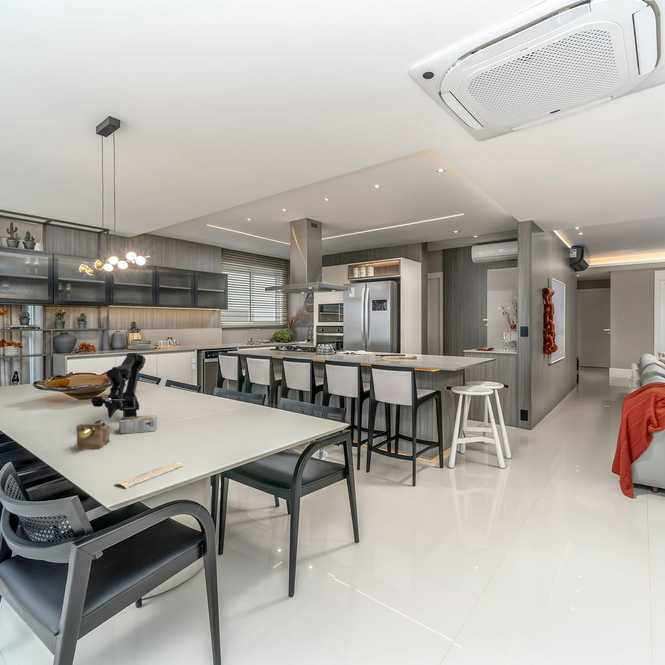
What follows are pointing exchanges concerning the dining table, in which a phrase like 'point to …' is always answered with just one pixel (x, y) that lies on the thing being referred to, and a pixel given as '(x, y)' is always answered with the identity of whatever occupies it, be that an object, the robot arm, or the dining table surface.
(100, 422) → the lock pin
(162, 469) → the beige curved strip
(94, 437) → the mount
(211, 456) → the dining table surface
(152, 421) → the coffee box
